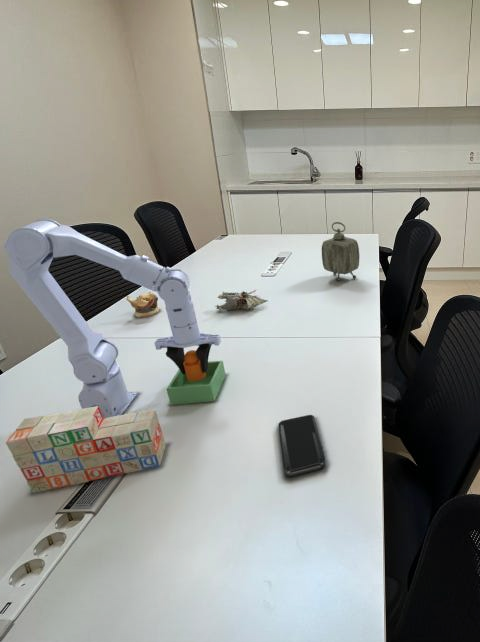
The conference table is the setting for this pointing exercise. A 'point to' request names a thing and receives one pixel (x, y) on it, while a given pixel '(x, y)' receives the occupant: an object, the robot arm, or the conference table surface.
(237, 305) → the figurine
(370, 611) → the conference table surface
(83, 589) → the conference table surface
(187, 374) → the cylinder
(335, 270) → the tabletop clock
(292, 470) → the phone
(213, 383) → the green bin
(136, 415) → the stack of blocks
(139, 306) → the yellow brown ornament
